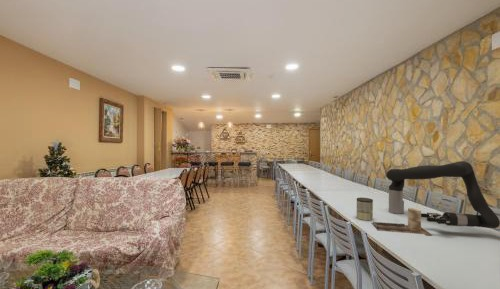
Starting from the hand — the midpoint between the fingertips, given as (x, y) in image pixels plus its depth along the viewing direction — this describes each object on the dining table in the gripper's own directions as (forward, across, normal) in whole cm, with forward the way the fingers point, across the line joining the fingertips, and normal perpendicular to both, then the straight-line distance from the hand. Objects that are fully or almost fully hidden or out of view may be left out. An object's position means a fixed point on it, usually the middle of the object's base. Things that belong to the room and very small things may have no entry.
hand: (423, 217), depth 147 cm
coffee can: (+29, -16, +8) cm, 35 cm away
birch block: (+5, 0, +8) cm, 9 cm away
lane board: (+13, 0, +8) cm, 16 cm away
